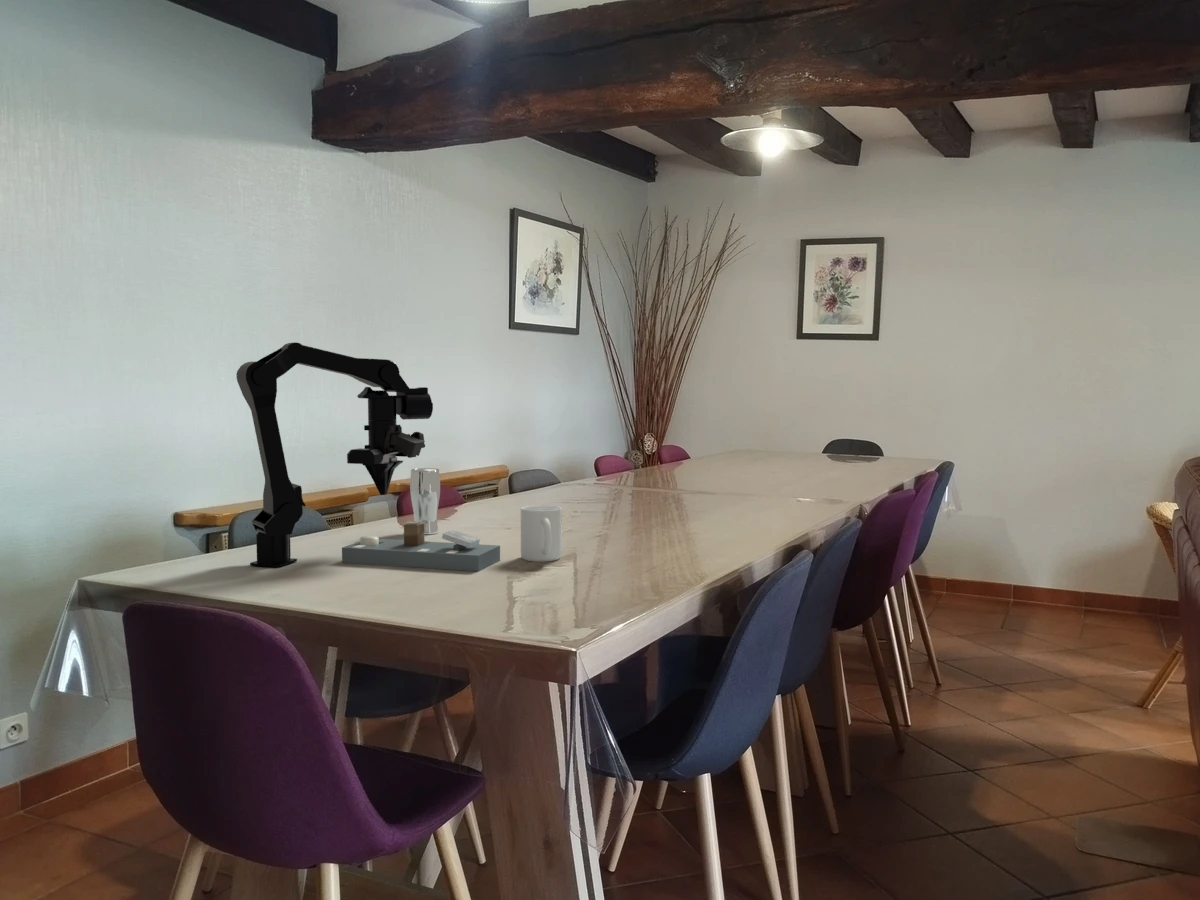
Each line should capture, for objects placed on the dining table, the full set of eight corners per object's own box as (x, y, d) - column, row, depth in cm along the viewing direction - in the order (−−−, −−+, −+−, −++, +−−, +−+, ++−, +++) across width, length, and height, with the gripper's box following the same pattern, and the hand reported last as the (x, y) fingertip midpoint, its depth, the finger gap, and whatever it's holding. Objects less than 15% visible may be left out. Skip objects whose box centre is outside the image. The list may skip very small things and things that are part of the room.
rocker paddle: (469, 547, 177) (470, 543, 177) (441, 538, 179) (442, 533, 179) (478, 543, 182) (479, 539, 182) (451, 534, 183) (452, 529, 183)
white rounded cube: (373, 558, 184) (373, 539, 183) (357, 557, 185) (356, 538, 184) (382, 554, 187) (381, 536, 187) (366, 553, 188) (366, 535, 188)
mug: (568, 564, 180) (568, 512, 180) (526, 566, 178) (526, 514, 178) (557, 553, 192) (557, 504, 191) (518, 555, 190) (517, 505, 189)
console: (478, 571, 174) (478, 549, 173) (342, 562, 181) (341, 542, 181) (500, 560, 184) (500, 540, 184) (370, 552, 192) (369, 533, 192)
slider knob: (417, 545, 183) (417, 523, 183) (404, 544, 184) (403, 522, 184) (424, 542, 186) (424, 521, 186) (411, 542, 187) (410, 520, 187)
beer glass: (437, 535, 213) (436, 471, 212) (407, 535, 214) (406, 470, 212) (443, 530, 220) (442, 468, 219) (414, 530, 221) (413, 468, 219)
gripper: (395, 423, 180) (396, 502, 181) (437, 418, 198) (438, 491, 199) (344, 422, 183) (346, 499, 184) (391, 418, 201) (392, 489, 202)
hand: (383, 494), depth 192 cm, fingers closed
